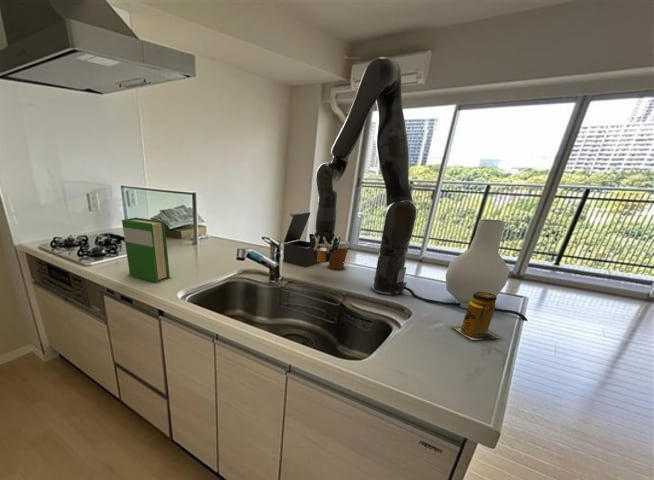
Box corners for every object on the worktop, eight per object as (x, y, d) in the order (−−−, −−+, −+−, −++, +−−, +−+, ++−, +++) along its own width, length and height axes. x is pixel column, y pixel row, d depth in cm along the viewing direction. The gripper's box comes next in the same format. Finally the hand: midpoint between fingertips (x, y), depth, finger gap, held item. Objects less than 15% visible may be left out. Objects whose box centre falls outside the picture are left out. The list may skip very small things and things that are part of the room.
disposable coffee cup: (321, 266, 158) (323, 240, 153) (337, 263, 162) (340, 238, 156) (334, 271, 150) (338, 245, 145) (351, 268, 154) (354, 242, 149)
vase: (498, 319, 105) (531, 227, 93) (437, 308, 112) (461, 223, 100) (493, 301, 117) (522, 219, 105) (439, 293, 125) (460, 215, 113)
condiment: (453, 328, 99) (464, 290, 94) (480, 327, 100) (492, 289, 95) (471, 340, 93) (484, 300, 88) (500, 338, 93) (514, 298, 88)
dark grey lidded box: (320, 262, 164) (321, 244, 160) (305, 267, 157) (306, 248, 154) (298, 256, 173) (299, 239, 170) (283, 261, 167) (284, 243, 163)
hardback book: (169, 278, 146) (164, 221, 135) (156, 282, 140) (150, 223, 130) (142, 271, 155) (136, 217, 145) (129, 275, 150) (121, 219, 140)
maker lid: (310, 212, 160) (303, 207, 162) (294, 215, 153) (287, 210, 156) (300, 239, 169) (292, 234, 172) (284, 243, 163) (277, 237, 165)
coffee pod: (331, 261, 139) (332, 249, 137) (323, 263, 136) (324, 251, 134) (321, 258, 143) (321, 247, 141) (313, 261, 140) (313, 249, 138)
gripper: (305, 217, 135) (303, 259, 143) (335, 221, 125) (331, 265, 132) (317, 215, 140) (314, 255, 147) (347, 218, 129) (342, 261, 137)
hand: (322, 260), depth 140 cm, fingers closed on coffee pod, 5 cm apart
